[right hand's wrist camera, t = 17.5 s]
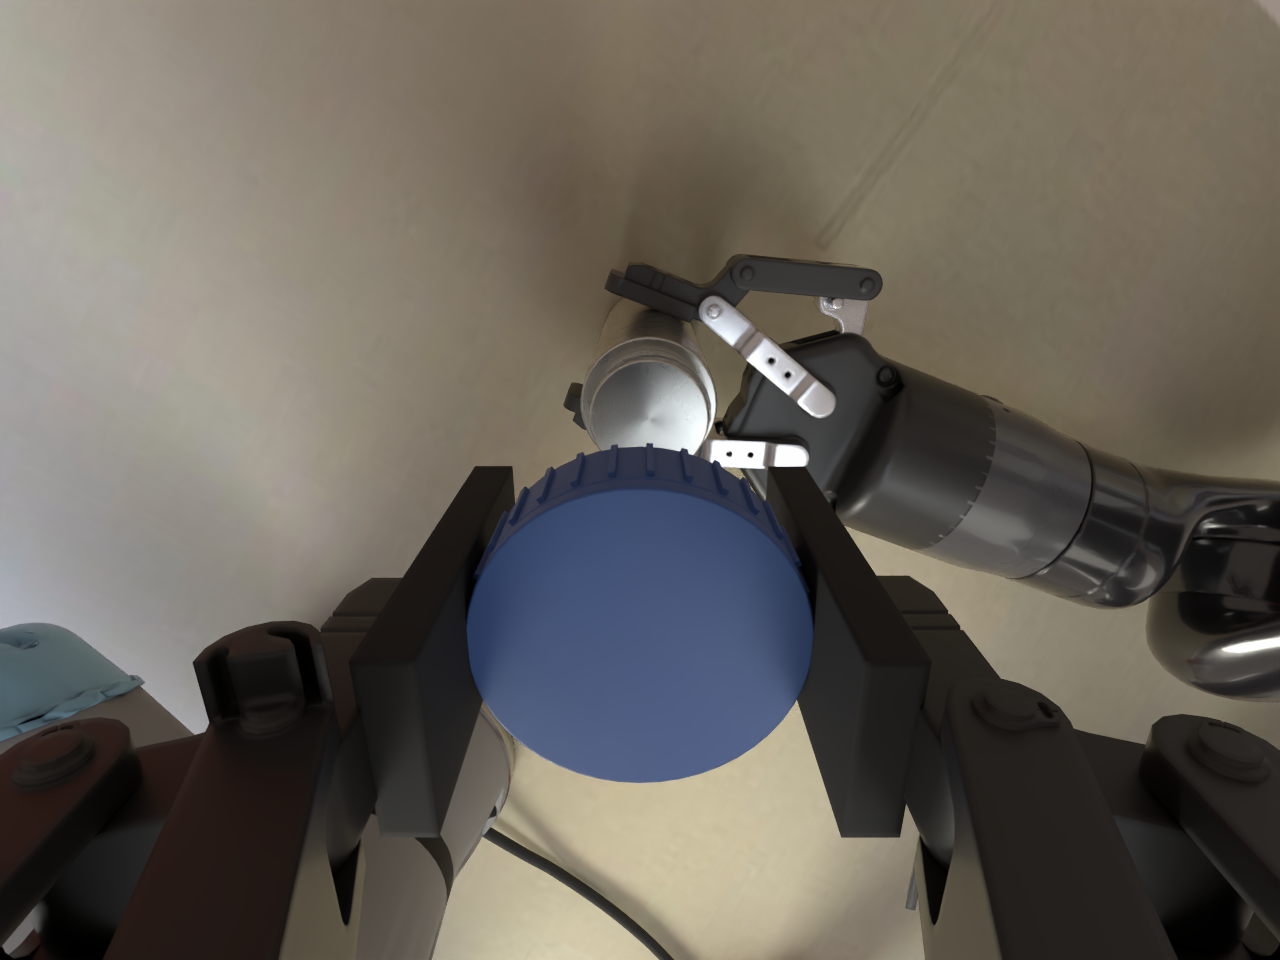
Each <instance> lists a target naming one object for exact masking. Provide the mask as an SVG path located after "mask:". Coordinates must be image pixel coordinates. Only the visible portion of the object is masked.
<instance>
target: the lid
mask: <svg viewBox="0 0 1280 960" xmlns="http://www.w3.org/2000/svg"><path fill="white" fill-rule="evenodd" d="M800 566H802V564H801V562H800V560H799V558H798V555H797V553H796V551H795V549H794V547H793V545H792V542H791V540H790V538H789V536H788V534H787V531H786V529H785V527H784V526H781V527H780V525H779V523H778V520H777V518H776V516H775V514H774V512H773V509H772V507H771V505H770V503H769V502H768V501H767V500H765V501H764V502H762V501H761V499H760V498H759V497H758V496H757V495H756V494H755V493H754V491H752V490H751V488H750V485H749V483H748V480H746V479H745V478H744V477H743V478H742V479H741V480H740V479H739V478H737V477H735V476H734V475H732V474H731V473H729V472H728V471H726V470H725V469H723V468H722V467H721V464H720V462H719V461H717V460H714V461H713V463H711V462H709V461H707V460H705V459H703V458H700V457H697V456H694V455H691V454H689V453H688V449H684V448H681V451H676V450H671V449H665V448H657V447H653V443H646V447H642V446H639V447H622V448H618V445H617V444H616V445H611V449H609V450H604V451H598V452H595V453H592V454H589V455H586V456H585V455H584V453H583V452H582V453H580V454H577V458H576V459H575V460H573V461H571V462H568V463H566V464H564V465H562V466H560V467H558V468H557V469H555V470H554V469H553V467H550V468H549V469H547V471H546V474H545V476H544V477H543V478H541V479H540V480H539V481H538V482H537V483H535V484H534V485H533V486H532V487H531V488H530V489H528V488H527V487H524V488H523V489H522V490H521V492H520V495H519V497H518V500H517V502H516V504H515V505H514V506H513V508H512V509H511V511H510V512H509V513H508V512H506V511H504V512H503V514H502V516H501V518H500V520H499V522H498V525H497V527H496V529H495V531H494V533H493V535H492V538H490V541H489V543H488V545H487V547H486V549H485V552H484V554H483V556H482V558H481V560H480V562H479V565H478V567H477V569H476V571H475V573H474V576H473V579H474V580H477V582H476V584H475V586H474V589H473V592H472V595H471V599H470V602H469V606H468V610H467V618H466V631H467V641H468V651H469V660H470V668H471V673H472V676H473V679H474V682H475V684H476V687H477V689H478V691H479V693H480V694H481V696H482V698H483V700H484V702H485V704H486V705H487V707H488V708H489V709H490V711H491V712H492V714H493V715H494V717H495V718H496V719H497V720H498V721H499V722H500V724H501V725H502V726H503V727H504V728H505V729H506V730H507V731H508V732H509V733H510V734H511V735H512V736H513V737H515V738H516V739H517V740H518V741H519V742H520V743H522V744H523V745H524V746H525V747H527V748H528V749H530V750H531V751H533V752H534V753H536V754H537V755H539V756H540V757H542V758H544V759H546V760H548V761H550V762H552V763H554V764H556V765H558V766H560V767H563V768H566V769H568V770H571V771H573V772H576V773H579V774H583V775H586V776H590V777H594V778H598V779H604V780H610V781H617V782H632V783H647V782H663V781H669V780H676V779H682V778H686V777H690V776H693V775H697V774H701V773H704V772H706V771H709V770H712V769H714V768H717V767H720V766H722V765H724V764H726V763H728V762H730V761H732V760H734V759H736V758H738V757H739V756H741V755H742V754H744V753H745V752H747V751H748V750H750V749H751V748H753V747H755V746H756V745H757V744H758V743H759V742H760V741H762V740H763V739H764V738H765V737H766V736H768V735H769V734H770V733H771V732H772V731H773V730H774V729H775V728H776V727H777V725H778V724H779V723H780V722H781V721H782V720H783V719H784V718H785V716H786V715H787V713H788V712H789V711H790V709H791V708H792V706H793V705H794V703H795V702H796V700H797V698H798V696H799V694H800V692H801V690H802V688H803V686H804V683H805V681H806V678H807V675H808V672H809V669H810V663H811V654H812V645H813V635H814V620H813V612H812V607H811V603H810V600H809V589H808V587H807V584H806V582H805V580H804V578H803V575H802V573H801V571H800V569H799V567H800Z"/></svg>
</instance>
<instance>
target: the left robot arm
mask: <svg viewBox="0 0 1280 960" xmlns="http://www.w3.org/2000/svg"><path fill="white" fill-rule="evenodd" d="M882 285H883V282H882V278H881V276H880V274H879V273H878V272H877V271H875V270H872V269H868V268H864V267H860V266H857V265H851V264H840V263H829V262H819V261H808V260H798V259H787V258H777V257H766V256H756V255H745V254H737V255H734V256H732V257H731V258H730V259H729V260H728V262H727V264H726V266H725V267H724V268H723V269H722V270H721V272H720V273H719V274H718V275H717V276H716V277H715V278H714V279H713V280H712V281H711V282H709V283H706V284H695V283H692V282H690V281H687V280H685V279H682V278H680V277H677V276H675V275H672V274H670V273H667V272H665V271H662V270H660V269H657V268H655V267H652V266H650V265H647V264H645V263H629V265H628V268H627V271H626V273H623V272H620V271H617V270H614V269H611V271H610V274H609V277H608V279H607V282H606V285H605V289H606V290H607V291H609V292H612V293H614V294H616V295H619V296H622V297H624V298H627V299H629V300H632V301H634V302H637V303H640V304H642V305H645V306H647V307H650V308H652V309H655V310H657V311H660V312H663V313H666V314H669V315H671V316H673V317H675V318H678V319H681V320H683V321H686V322H688V323H690V322H691V320H692V318H694V319H696V320H699V321H701V322H703V323H704V324H706V325H707V326H708V327H709V328H710V329H712V330H713V331H714V332H715V333H716V334H717V335H719V336H720V337H721V338H722V339H723V340H725V341H726V342H727V343H728V344H729V345H731V346H732V347H733V348H734V349H735V350H736V351H737V352H738V353H739V354H740V355H741V356H742V357H744V358H745V359H746V360H747V361H748V364H747V366H746V368H745V370H744V373H743V376H742V383H741V389H740V392H739V394H738V395H737V396H736V398H735V399H734V400H733V401H732V403H731V404H730V405H729V407H728V409H727V411H726V414H725V416H724V418H718V417H715V421H714V424H713V427H712V429H711V431H710V433H709V435H708V437H707V438H706V440H705V441H704V443H703V444H702V445H701V446H700V448H699V449H698V451H697V452H696V453H695V454H694V456H697V457H700V458H703V459H705V460H707V461H709V462H711V463H713V461H714V460H717V461H719V462H720V464H721V467H734V468H740V470H741V471H742V473H743V474H744V476H745V477H746V479H747V480H748V482H749V484H750V485H751V487H752V488H753V490H754V491H755V493H756V495H757V496H758V497H759V498H760V499H761V501H762V502H764V501H765V500H766V489H767V475H768V466H805V467H806V468H807V470H808V471H809V473H810V475H811V476H812V478H813V479H814V481H815V482H816V484H817V485H818V487H819V488H820V490H821V491H822V493H823V495H824V496H825V498H826V499H827V501H828V502H829V504H830V505H831V507H832V508H833V510H834V511H835V513H836V515H837V516H838V518H839V519H840V521H841V522H842V524H843V525H844V526H847V527H849V528H852V529H855V530H858V531H860V532H863V533H866V534H869V535H872V536H874V537H877V538H880V539H883V540H885V541H888V542H891V543H893V544H896V545H899V546H902V547H905V548H907V549H910V550H913V551H916V552H918V553H921V554H924V555H927V556H930V557H932V558H935V559H938V560H941V561H944V562H946V563H949V564H952V565H955V566H959V567H962V568H967V569H971V570H976V571H981V572H986V573H991V574H994V575H998V576H1001V577H1005V578H1007V579H1009V580H1012V581H1015V582H1018V583H1021V584H1023V585H1026V586H1029V587H1032V588H1034V589H1037V590H1040V591H1043V592H1045V593H1048V594H1051V595H1054V596H1057V597H1059V598H1062V599H1065V600H1068V601H1071V602H1074V603H1077V604H1080V605H1083V606H1087V607H1092V608H1097V609H1122V608H1127V607H1131V606H1134V605H1137V604H1139V603H1141V602H1143V601H1145V600H1146V599H1148V598H1149V597H1150V599H1149V605H1148V612H1147V619H1146V638H1147V643H1148V646H1149V649H1150V651H1151V652H1152V654H1153V655H1154V657H1155V659H1156V660H1157V661H1158V662H1159V663H1160V664H1161V666H1162V667H1163V668H1164V669H1165V670H1166V671H1168V672H1169V673H1170V674H1172V675H1173V676H1174V677H1175V678H1177V679H1178V680H1180V681H1181V682H1183V683H1185V684H1187V685H1189V686H1191V687H1193V688H1195V689H1197V690H1200V691H1203V692H1206V693H1209V694H1212V695H1215V696H1219V697H1223V698H1228V699H1233V700H1240V701H1250V702H1280V481H1276V480H1269V479H1255V478H1236V477H1220V476H1208V475H1200V474H1193V473H1186V472H1179V471H1173V470H1166V469H1161V468H1155V467H1150V466H1145V465H1141V464H1136V463H1133V462H1131V461H1128V460H1126V459H1124V458H1121V457H1118V456H1116V455H1113V454H1111V453H1108V452H1106V451H1103V450H1101V449H1098V448H1096V447H1093V446H1091V445H1088V444H1086V443H1083V442H1081V441H1078V440H1076V439H1073V438H1071V437H1068V436H1066V435H1064V434H1062V433H1060V432H1058V431H1056V430H1054V429H1053V428H1051V427H1049V426H1048V425H1046V424H1044V423H1043V422H1041V421H1039V420H1038V419H1036V418H1034V417H1032V416H1030V415H1028V414H1026V413H1023V412H1021V411H1019V410H1016V409H1013V408H1011V407H1008V406H1006V405H1004V404H1003V403H1002V402H1000V401H998V400H997V399H995V398H992V397H989V396H985V395H978V394H976V393H973V392H971V391H968V390H966V389H963V388H961V387H958V386H956V385H953V384H950V383H948V382H945V381H943V380H940V379H938V378H935V377H933V376H930V375H928V374H925V373H923V372H920V371H918V370H915V369H913V368H910V367H908V366H905V365H903V364H900V363H898V362H895V361H893V360H890V359H888V358H885V357H883V356H881V355H879V354H878V353H877V352H876V351H875V350H874V349H873V347H872V346H871V344H870V343H869V342H868V340H867V339H865V338H864V337H863V336H862V333H863V329H864V324H865V319H866V314H867V309H868V304H869V300H872V299H874V298H875V297H876V296H877V295H878V294H879V293H880V291H881V289H882ZM750 290H754V291H764V292H775V293H786V294H797V295H807V296H814V299H813V301H814V305H815V307H816V309H817V310H818V311H820V312H822V313H823V314H825V315H827V316H831V317H832V318H833V319H834V322H835V330H832V331H828V332H824V333H820V334H817V335H813V336H809V337H805V338H802V339H798V340H794V341H790V342H787V343H783V344H778V343H776V342H775V341H774V340H773V339H772V338H771V337H769V336H768V335H767V334H766V333H765V332H764V331H762V330H761V329H760V328H759V327H758V326H757V325H755V324H754V323H753V322H752V321H751V320H750V319H748V318H747V317H746V316H745V315H743V314H742V313H741V312H740V311H739V310H738V309H736V308H735V306H736V305H737V304H738V303H739V302H740V301H741V300H742V299H743V297H744V296H745V295H746V294H747V293H748V292H749V291H750ZM582 388H583V384H579V383H571V385H570V388H569V390H568V393H567V396H566V399H565V402H564V404H563V405H564V407H565V408H567V409H568V410H570V411H573V412H575V415H574V418H573V421H574V422H575V423H576V424H577V425H579V426H580V427H581V428H582V429H585V430H586V427H585V425H584V422H583V418H582V413H581V393H582ZM720 431H723V432H722V433H721V432H720ZM728 451H729V453H727V452H728ZM1248 926H1249V928H1250V929H1251V930H1252V931H1253V932H1254V934H1255V935H1256V936H1257V937H1258V938H1259V940H1260V941H1261V942H1262V943H1263V944H1264V945H1265V946H1266V947H1268V948H1269V949H1270V950H1271V951H1273V952H1275V951H1276V950H1277V948H1278V946H1279V944H1280V942H1279V941H1278V939H1277V938H1276V937H1275V936H1274V935H1273V934H1272V932H1271V931H1270V930H1269V929H1268V928H1267V926H1266V925H1265V924H1264V923H1263V922H1262V921H1261V919H1260V918H1259V917H1258V916H1257V915H1256V914H1255V912H1254V913H1253V915H1252V917H1251V919H1250V921H1249V924H1248Z"/></svg>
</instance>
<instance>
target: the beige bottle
mask: <svg viewBox="0 0 1280 960" xmlns="http://www.w3.org/2000/svg"><path fill="white" fill-rule="evenodd" d="M716 412H717V393H716V388H715V384H714V381H713V378H712V376H711V373H710V371H709V368H708V366H707V363H706V361H705V358H704V356H703V353H702V351H701V348H700V345H699V343H698V340H697V338H696V335H695V333H694V330H693V328H692V325H691V323H688V322H686V321H683V320H681V319H678V318H675V317H673V316H671V315H669V314H666V313H663V312H660V311H657V310H655V309H652V308H650V307H647V306H645V305H642V304H640V303H637V302H634V301H632V300H629V299H627V298H623V299H621V300H620V301H619V302H618V303H617V304H616V305H615V306H614V307H613V308H612V310H611V311H610V313H609V315H608V317H607V320H606V322H605V325H604V328H603V331H602V333H601V336H600V339H599V342H598V345H597V347H596V350H595V353H594V356H593V358H592V361H591V364H590V367H589V370H588V372H587V375H586V378H585V381H584V384H583V388H582V393H581V413H582V418H583V422H584V425H585V427H586V430H587V432H588V434H589V435H590V437H591V439H592V440H593V442H594V443H595V444H596V445H597V447H598V448H599V449H600V451H604V450H609V449H611V445H616V444H617V445H618V448H622V447H639V446H642V447H646V443H653V447H657V448H665V449H671V450H676V451H681V448H684V449H688V453H689V454H691V455H694V454H695V453H696V452H697V451H698V449H699V448H700V446H701V445H702V444H703V443H704V441H705V440H706V438H707V437H708V435H709V433H710V431H711V429H712V427H713V424H714V421H715V417H716Z"/></svg>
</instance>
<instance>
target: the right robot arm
mask: <svg viewBox="0 0 1280 960" xmlns="http://www.w3.org/2000/svg"><path fill="white" fill-rule="evenodd" d="M766 500H767V501H768V502H769V503H770V505H771V507H772V509H773V512H774V514H775V516H776V518H777V520H778V523H779V525H780V527H781V526H784V527H785V529H786V531H787V534H788V536H789V538H790V540H791V542H792V545H793V547H794V549H795V551H796V553H797V555H798V558H799V560H800V562H801V564H802V566H800V567H799V569H800V571H801V573H802V575H803V578H804V580H805V582H806V584H807V587H808V589H809V600H810V603H811V607H812V612H813V620H814V635H813V645H812V654H811V663H810V669H809V672H808V675H807V678H806V681H805V683H804V686H803V688H802V690H801V692H800V694H799V696H798V698H797V701H798V704H799V707H800V710H801V713H802V716H803V720H804V723H805V726H806V729H807V732H808V735H809V738H810V741H811V744H812V748H813V751H814V754H815V757H816V760H817V763H818V766H819V769H820V772H821V776H822V779H823V782H824V785H825V788H826V791H827V794H828V797H829V800H830V804H831V807H832V810H833V813H834V816H835V819H836V822H837V825H838V828H839V832H840V835H841V837H900V834H901V828H902V823H903V817H904V812H905V806H906V804H907V806H908V808H909V811H910V813H911V815H912V817H913V819H914V822H915V824H916V826H917V828H918V831H919V833H920V834H919V839H918V844H917V849H916V854H915V859H914V864H913V869H912V874H911V879H910V885H909V890H908V895H907V902H906V908H907V909H911V910H915V908H916V903H917V898H918V901H919V910H920V918H921V927H922V936H923V945H924V954H925V960H1280V944H1279V946H1278V948H1277V950H1276V951H1275V952H1273V951H1271V950H1270V949H1269V948H1268V947H1266V946H1265V945H1264V944H1263V943H1262V942H1261V941H1260V940H1259V938H1258V937H1257V936H1256V935H1255V934H1254V932H1253V931H1252V930H1251V929H1250V928H1249V926H1248V924H1249V921H1250V919H1251V917H1252V915H1253V913H1254V912H1255V914H1256V915H1257V916H1258V917H1259V918H1260V919H1261V921H1262V922H1263V923H1264V924H1265V925H1266V926H1267V928H1268V929H1269V930H1270V931H1271V932H1272V934H1273V935H1274V936H1275V937H1276V938H1277V939H1278V941H1279V942H1280V750H1278V749H1277V748H1275V747H1274V746H1273V745H1271V744H1270V743H1268V742H1267V741H1265V740H1264V739H1262V738H1259V737H1257V736H1255V735H1253V734H1251V733H1249V732H1247V731H1245V730H1243V729H1242V728H1240V727H1238V726H1235V725H1232V724H1230V723H1227V722H1221V721H1220V720H1216V719H1212V718H1208V717H1201V716H1193V715H1185V714H1179V715H1172V716H1164V717H1162V718H1161V719H1159V720H1158V721H1157V722H1156V723H1154V724H1153V725H1152V728H1151V731H1150V734H1149V737H1148V740H1147V743H1146V745H1144V744H1139V743H1134V742H1129V741H1125V740H1120V739H1115V738H1110V737H1106V736H1101V735H1096V734H1091V733H1087V732H1084V731H1080V730H1076V729H1073V726H1072V724H1071V722H1070V721H1069V719H1068V718H1067V717H1066V715H1065V714H1064V713H1063V711H1062V710H1061V709H1060V707H1059V706H1057V705H1056V704H1055V703H1053V702H1052V701H1051V700H1049V699H1048V698H1047V697H1045V696H1044V695H1042V694H1041V693H1039V692H1037V691H1035V690H1032V689H1030V688H1028V687H1026V686H1024V685H1022V684H1019V683H1016V682H1012V681H1008V680H1004V679H1001V678H1000V677H999V676H998V674H997V673H996V672H995V671H994V669H993V668H992V667H991V665H990V664H989V663H988V662H987V660H986V659H985V658H984V656H983V655H982V654H981V652H980V651H979V650H978V649H977V647H976V646H975V645H974V643H973V642H972V641H971V640H970V638H969V637H968V636H967V634H966V633H965V632H964V631H963V630H960V625H959V624H958V623H957V621H956V620H955V619H954V618H953V616H952V615H951V614H948V610H947V609H946V607H945V606H944V605H943V603H942V602H941V601H940V599H939V598H938V597H937V596H936V594H935V593H934V592H933V591H932V590H930V589H928V588H927V587H925V586H924V585H922V584H921V583H919V582H918V581H916V580H914V579H913V578H911V577H910V576H876V575H875V573H874V571H873V570H872V568H871V567H870V565H869V564H868V562H867V561H866V559H865V558H864V556H863V555H862V553H861V551H860V550H859V548H858V547H857V545H856V544H855V542H854V541H853V539H852V538H851V536H850V535H849V533H848V531H847V530H846V528H845V527H844V525H843V524H842V522H841V521H840V519H839V518H838V516H837V515H836V513H835V511H834V510H833V508H832V507H831V505H830V504H829V502H828V501H827V499H826V498H825V496H824V495H823V493H822V491H821V490H820V488H819V487H818V485H817V484H816V482H815V481H814V479H813V478H812V476H811V475H810V473H809V471H808V470H807V468H806V467H805V466H768V475H767V489H766ZM514 505H515V497H514V483H513V469H512V466H475V467H474V469H473V471H472V472H471V474H470V475H469V477H468V478H467V480H466V481H465V483H464V484H463V486H462V488H461V489H460V491H459V492H458V494H457V495H456V497H455V498H454V500H453V501H452V503H451V504H450V506H449V508H448V509H447V511H446V512H445V514H444V515H443V517H442V518H441V520H440V521H439V523H438V524H437V526H436V528H435V529H434V531H433V532H432V534H431V535H430V537H429V538H428V540H427V541H426V543H425V544H424V546H423V548H422V549H421V551H420V552H419V554H418V555H417V557H416V558H415V560H414V561H413V563H412V564H411V566H410V568H409V569H408V571H407V572H406V574H405V575H404V577H403V578H371V579H370V580H368V581H367V582H365V583H364V584H362V585H361V586H359V587H357V588H356V589H354V590H353V591H351V592H350V593H348V594H347V595H346V596H345V598H344V599H343V600H342V602H341V603H340V604H339V606H338V607H337V608H336V609H335V611H334V612H333V617H329V619H328V620H327V621H326V622H325V624H324V625H323V626H322V628H321V632H319V631H318V630H317V629H316V628H314V627H313V626H312V625H310V624H306V623H301V622H297V621H274V622H268V623H263V624H259V625H254V626H249V627H246V628H244V629H241V630H239V631H236V632H234V633H231V634H229V635H226V636H224V637H222V638H221V639H219V640H218V641H216V642H214V643H213V644H211V645H210V646H208V647H207V648H205V649H204V650H203V651H202V652H201V654H200V655H199V656H198V657H197V658H196V659H195V660H194V661H193V666H194V669H195V673H196V676H197V680H198V683H199V687H200V690H201V694H202V697H203V701H204V705H205V708H206V712H207V715H208V719H209V722H210V723H209V725H208V728H207V730H206V732H204V733H200V734H197V735H194V734H193V733H192V732H191V731H190V730H189V729H187V728H186V727H185V726H184V725H183V724H182V723H181V722H180V721H178V720H177V719H176V718H175V717H174V716H173V715H172V714H171V713H170V712H168V711H167V710H166V709H165V708H164V707H163V706H162V705H161V704H159V703H158V702H157V701H156V700H155V699H154V698H153V697H152V696H151V695H149V694H148V693H147V692H146V691H145V690H144V689H143V688H142V687H141V686H140V685H143V684H144V683H145V682H144V681H143V680H142V679H141V678H140V677H138V676H137V675H128V674H126V673H125V672H124V671H123V670H121V669H120V668H119V667H117V666H116V665H115V664H114V663H112V662H111V661H110V660H108V659H107V658H106V657H105V656H103V655H102V654H101V653H99V652H98V651H97V650H95V649H94V648H93V647H92V646H90V645H89V644H88V643H86V642H85V641H84V640H83V639H81V638H80V637H79V636H77V635H76V634H75V633H73V632H71V631H69V630H68V629H65V628H63V627H60V626H57V625H53V624H47V623H25V624H19V625H15V626H11V627H8V628H4V629H1V630H0V960H432V957H433V953H434V950H435V946H436V942H437V938H438V935H439V931H440V927H441V924H442V920H443V916H444V913H445V909H446V905H447V902H448V898H449V895H450V891H451V888H452V884H453V881H454V879H455V878H456V876H457V875H458V873H459V872H460V870H461V869H462V868H463V866H464V865H465V863H466V862H467V860H468V859H469V857H470V856H471V854H472V853H473V851H474V850H475V848H476V847H477V845H478V843H479V841H480V839H481V837H484V838H486V839H487V840H489V841H491V842H493V843H494V844H496V845H498V846H499V847H501V848H503V849H505V850H506V851H508V852H510V853H511V854H513V855H515V856H517V857H518V858H520V859H522V860H524V861H526V862H528V863H529V864H531V865H533V866H535V867H537V868H539V869H541V870H543V871H544V872H546V873H548V874H549V875H551V876H553V877H554V878H556V879H558V880H559V881H561V882H562V883H564V884H565V885H567V886H568V887H570V888H571V889H573V890H574V891H576V892H577V893H579V894H580V895H582V896H583V897H585V898H586V899H587V900H589V901H590V902H592V903H593V904H595V905H596V906H597V907H599V908H600V909H601V910H603V911H604V912H605V913H607V914H608V915H609V916H611V917H612V918H613V919H614V920H616V921H617V922H618V923H619V924H621V925H622V926H623V927H624V928H626V929H627V930H628V931H629V932H630V933H631V934H633V935H634V936H635V937H636V938H637V939H638V940H640V941H641V942H642V943H643V944H644V945H645V946H646V947H647V948H648V949H649V950H650V951H651V952H652V953H653V954H654V955H655V956H656V957H657V958H658V959H659V960H674V959H673V958H672V957H671V956H670V955H669V954H668V953H667V952H666V951H665V950H664V949H663V948H662V947H661V946H660V945H659V944H658V943H657V942H656V941H655V940H654V939H653V938H652V937H651V936H650V935H649V934H648V933H647V932H646V931H645V930H644V929H643V928H641V927H640V926H639V925H638V924H637V923H636V922H634V921H633V920H632V919H631V918H630V917H628V916H627V915H626V914H625V913H624V912H622V911H621V910H620V909H619V908H617V907H616V906H615V905H613V904H612V903H611V902H610V901H608V900H607V899H606V898H604V897H603V896H601V895H600V894H599V893H597V892H596V891H594V890H593V889H592V888H590V887H589V886H587V885H586V884H584V883H583V882H581V881H580V880H579V879H577V878H576V877H574V876H573V875H571V874H569V873H568V872H566V871H565V870H563V869H562V868H560V867H559V866H557V865H555V864H554V863H552V862H550V861H549V860H547V859H545V858H543V857H541V856H540V855H538V854H536V853H534V852H532V851H530V850H529V849H527V848H525V847H523V846H522V845H520V844H518V843H516V842H515V841H513V840H511V839H510V838H508V837H506V836H505V835H503V834H501V833H500V832H498V831H496V830H495V829H493V828H491V825H492V824H493V823H494V821H495V820H496V818H497V816H498V815H499V813H500V812H501V810H502V808H503V806H504V804H505V801H506V798H507V795H508V791H509V787H510V783H511V778H512V774H513V769H514V761H515V755H514V745H513V740H512V736H511V734H510V733H509V732H508V731H507V730H506V729H505V728H504V727H503V726H502V725H501V724H500V722H499V721H498V720H497V719H496V718H495V717H494V715H493V714H492V712H491V711H490V709H489V708H488V707H487V705H486V704H485V702H484V700H483V698H482V696H481V694H480V693H479V691H478V689H477V687H476V684H475V682H474V679H473V676H472V673H471V668H470V660H469V651H468V641H467V631H466V618H467V610H468V606H469V602H470V599H471V595H472V592H473V589H474V586H475V584H476V582H477V580H474V579H473V576H474V573H475V571H476V569H477V567H478V565H479V562H480V560H481V558H482V556H483V554H484V552H485V549H486V547H487V545H488V543H489V541H490V538H492V535H493V533H494V531H495V529H496V527H497V525H498V522H499V520H500V518H501V516H502V514H503V512H504V511H506V512H508V513H509V512H510V511H511V509H512V508H513V506H514Z"/></svg>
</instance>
